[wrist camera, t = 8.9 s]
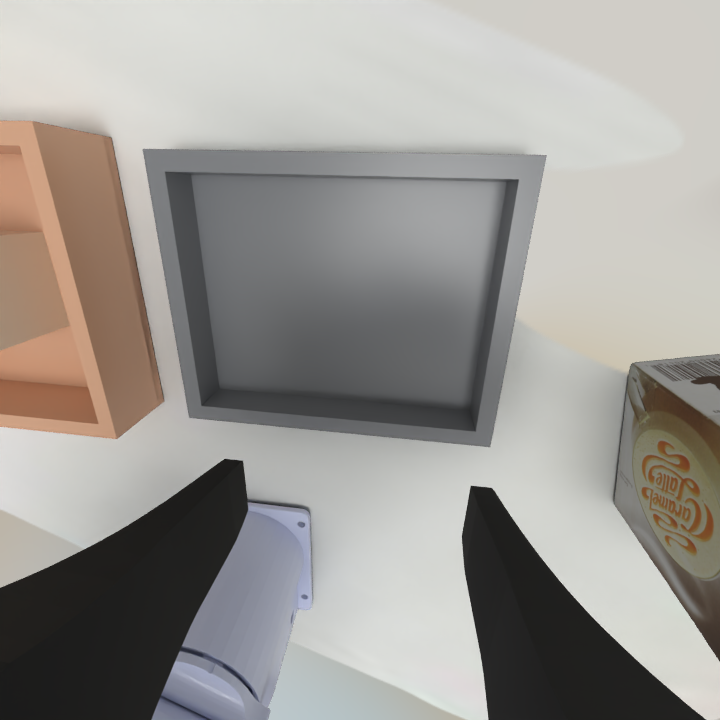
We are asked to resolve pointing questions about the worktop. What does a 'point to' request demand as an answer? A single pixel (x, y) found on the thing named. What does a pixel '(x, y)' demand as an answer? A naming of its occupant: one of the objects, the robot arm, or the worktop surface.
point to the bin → (76, 288)
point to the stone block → (27, 289)
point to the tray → (345, 285)
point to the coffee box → (676, 478)
